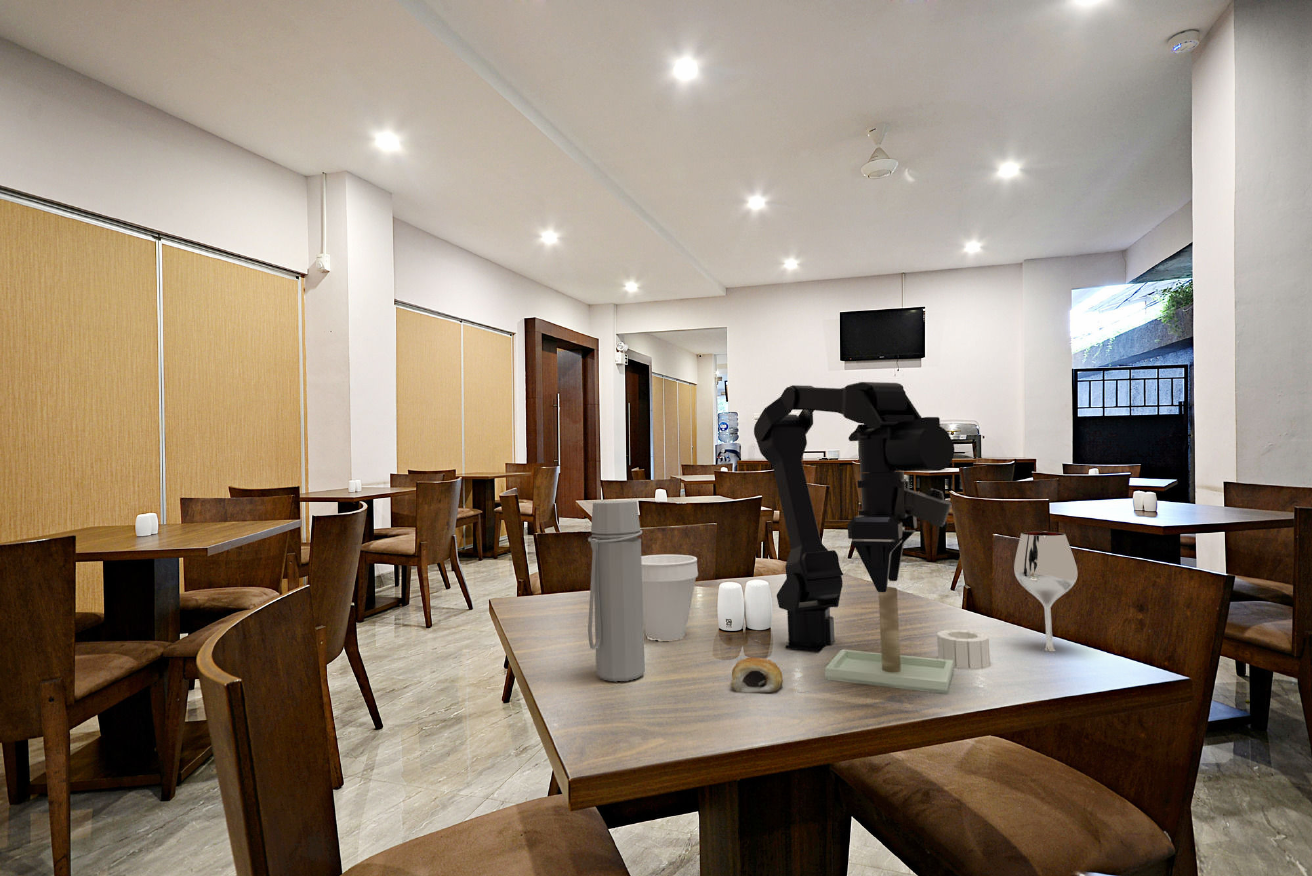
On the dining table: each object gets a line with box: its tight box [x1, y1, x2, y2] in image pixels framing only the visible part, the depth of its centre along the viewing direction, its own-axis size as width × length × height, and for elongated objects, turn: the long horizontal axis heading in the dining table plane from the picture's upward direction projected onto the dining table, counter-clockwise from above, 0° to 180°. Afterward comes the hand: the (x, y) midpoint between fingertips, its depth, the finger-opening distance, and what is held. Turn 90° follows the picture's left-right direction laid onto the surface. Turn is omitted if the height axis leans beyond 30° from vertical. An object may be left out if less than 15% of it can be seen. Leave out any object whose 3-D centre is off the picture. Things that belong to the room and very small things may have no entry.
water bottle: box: [587, 500, 646, 683], centre depth 95 cm, size 9×8×25 cm
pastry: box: [730, 656, 784, 694], centre depth 90 cm, size 9×7×4 cm
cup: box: [641, 554, 699, 640], centre depth 117 cm, size 12×12×14 cm
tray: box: [824, 648, 955, 695], centre depth 89 cm, size 15×10×2 cm, turn 62°
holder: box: [936, 629, 991, 670], centre depth 94 cm, size 7×7×4 cm
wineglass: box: [1013, 531, 1079, 652], centre depth 98 cm, size 8×8×18 cm
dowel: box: [878, 586, 901, 672], centre depth 90 cm, size 2×2×11 cm
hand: (887, 586), depth 90 cm, fingers open, 9 cm apart
